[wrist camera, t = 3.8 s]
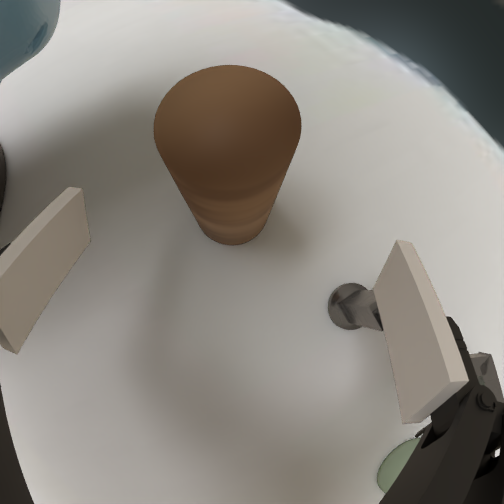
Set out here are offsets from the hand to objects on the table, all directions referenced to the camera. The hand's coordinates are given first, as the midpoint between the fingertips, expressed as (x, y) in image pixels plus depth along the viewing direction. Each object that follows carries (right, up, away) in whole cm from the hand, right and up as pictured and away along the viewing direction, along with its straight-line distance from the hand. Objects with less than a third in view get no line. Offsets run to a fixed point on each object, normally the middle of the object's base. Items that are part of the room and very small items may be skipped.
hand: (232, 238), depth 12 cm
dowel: (-1, +2, +9) cm, 10 cm away
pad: (+14, -19, +7) cm, 25 cm away
